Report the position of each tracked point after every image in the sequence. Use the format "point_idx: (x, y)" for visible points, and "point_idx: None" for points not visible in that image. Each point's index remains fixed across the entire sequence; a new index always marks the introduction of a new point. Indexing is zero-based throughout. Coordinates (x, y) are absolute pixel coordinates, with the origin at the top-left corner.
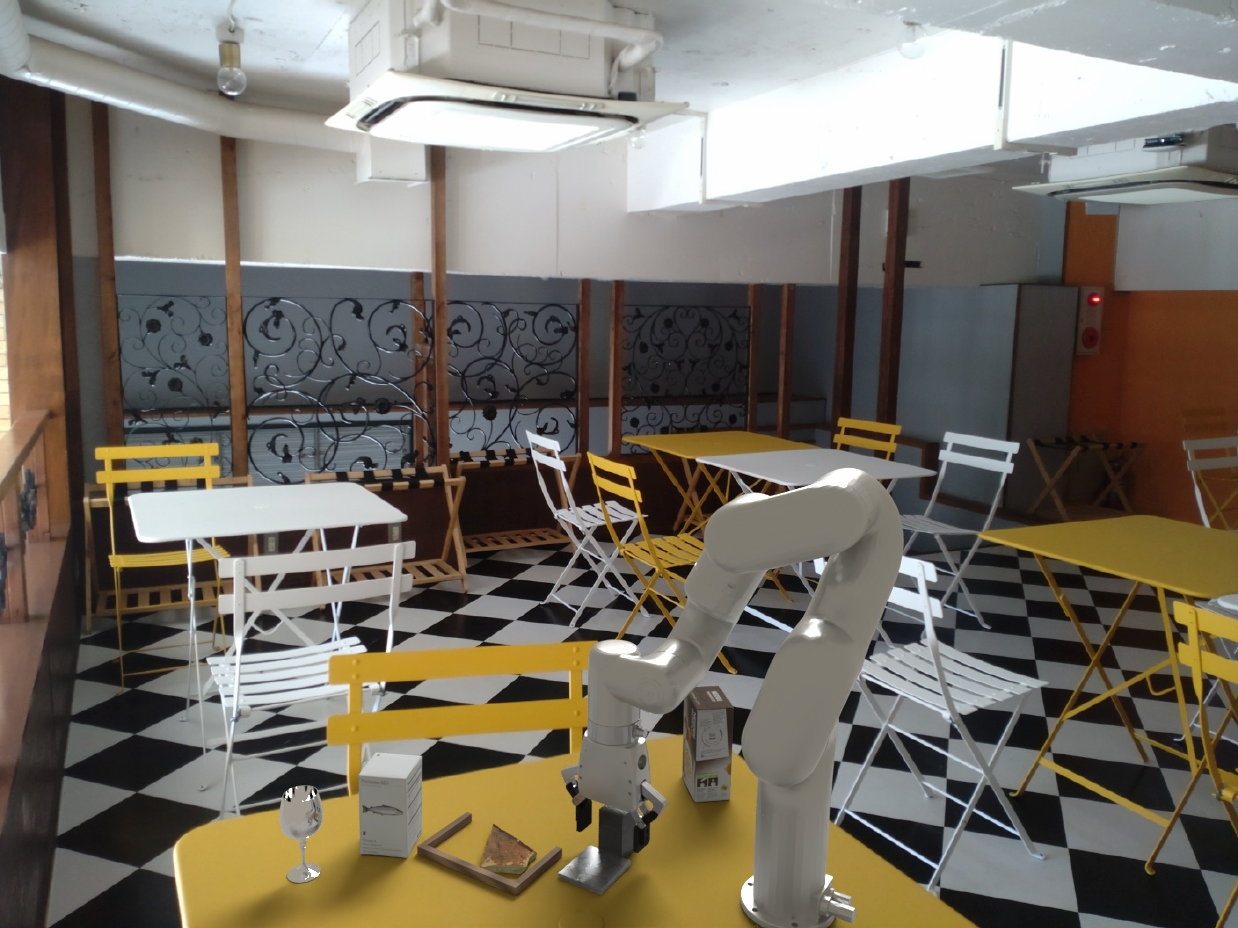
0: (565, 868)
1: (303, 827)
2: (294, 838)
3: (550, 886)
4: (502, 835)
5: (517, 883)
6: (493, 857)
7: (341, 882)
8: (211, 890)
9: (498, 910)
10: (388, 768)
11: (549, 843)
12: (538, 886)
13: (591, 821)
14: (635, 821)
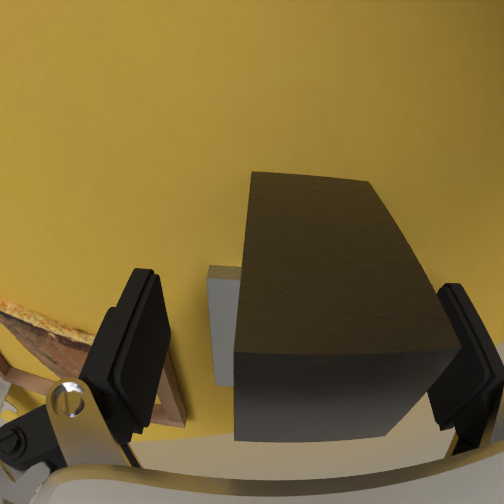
0: (218, 372)
1: None
2: None
3: (221, 391)
4: (21, 328)
5: (177, 422)
6: None
7: (29, 410)
8: (4, 417)
9: (192, 430)
10: None
11: (91, 287)
12: (201, 395)
13: (155, 277)
14: (449, 446)
